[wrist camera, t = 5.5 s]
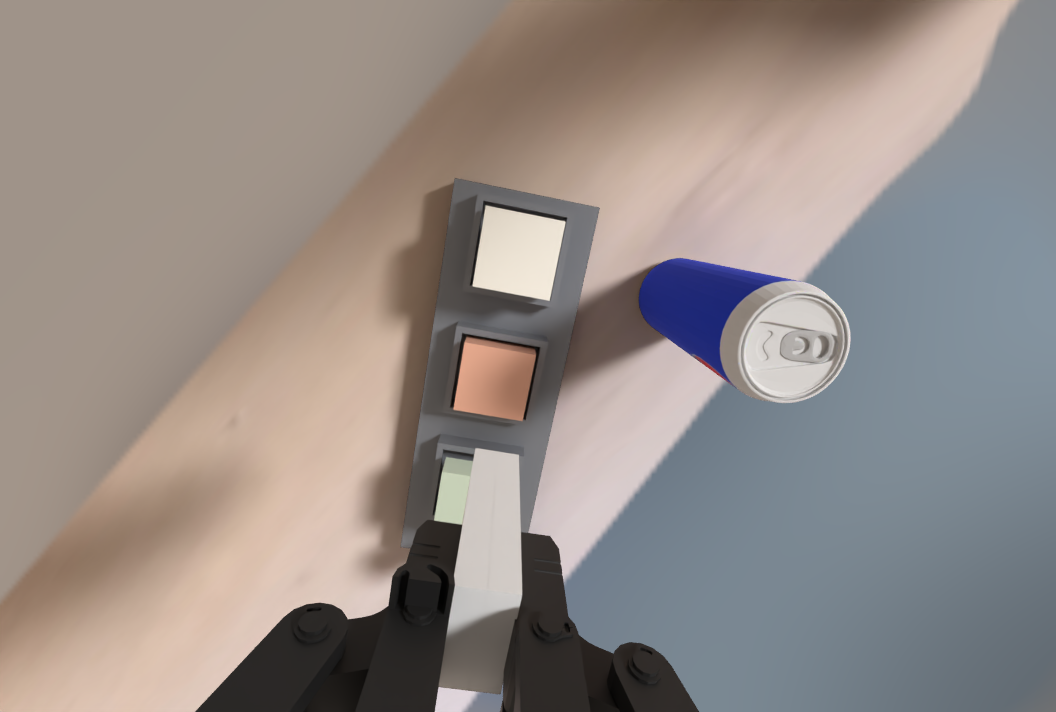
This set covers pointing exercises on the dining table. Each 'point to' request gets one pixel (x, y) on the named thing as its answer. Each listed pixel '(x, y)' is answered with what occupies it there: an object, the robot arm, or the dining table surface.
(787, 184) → the dining table surface
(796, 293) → the beverage can
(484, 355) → the terracotta button
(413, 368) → the dining table surface
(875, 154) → the dining table surface
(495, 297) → the console
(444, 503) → the sage button
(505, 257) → the cream button
